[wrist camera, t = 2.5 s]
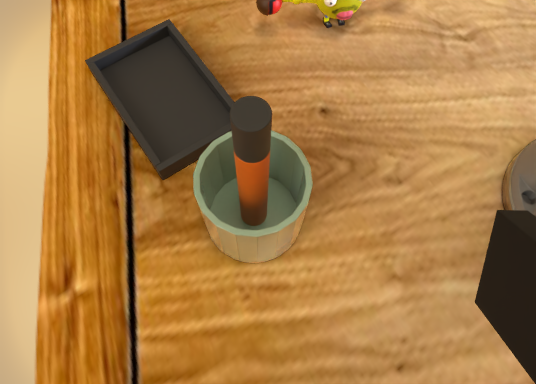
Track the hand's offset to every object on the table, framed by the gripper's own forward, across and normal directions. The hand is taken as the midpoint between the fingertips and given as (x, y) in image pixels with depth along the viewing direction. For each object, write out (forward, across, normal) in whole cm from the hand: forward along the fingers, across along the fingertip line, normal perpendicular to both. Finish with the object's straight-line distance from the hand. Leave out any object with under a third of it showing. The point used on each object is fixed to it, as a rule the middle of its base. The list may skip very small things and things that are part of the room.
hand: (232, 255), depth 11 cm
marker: (+27, 0, -12) cm, 29 cm away
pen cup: (+27, 0, -12) cm, 30 cm away
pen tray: (+36, -9, -3) cm, 37 cm away
